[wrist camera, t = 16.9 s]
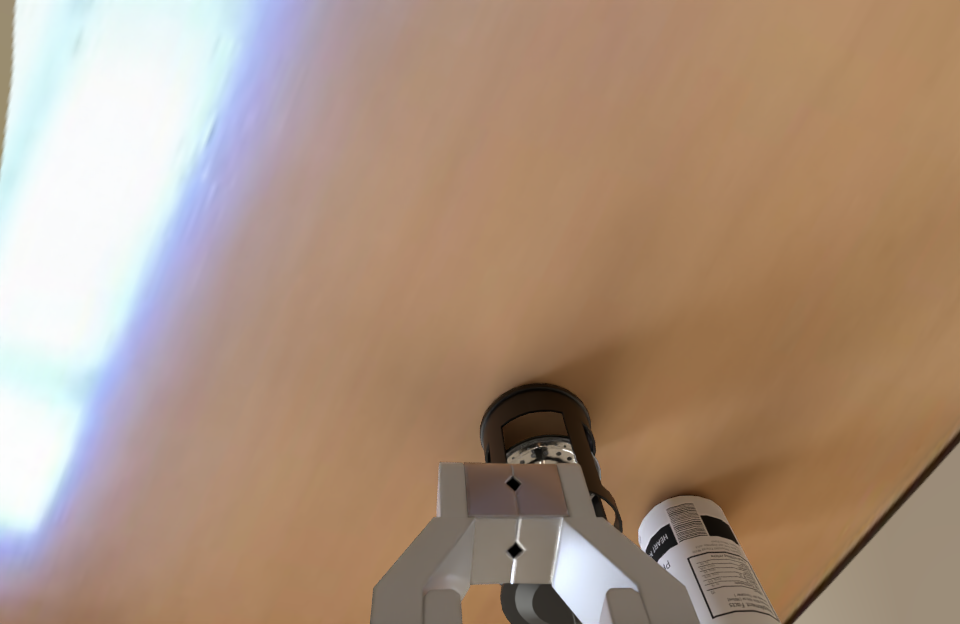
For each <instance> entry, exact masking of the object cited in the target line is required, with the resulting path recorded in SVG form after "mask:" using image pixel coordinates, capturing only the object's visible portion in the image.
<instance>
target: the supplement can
mask: <svg viewBox="0 0 960 624" xmlns="http://www.w3.org/2000/svg"><path fill="white" fill-rule="evenodd" d="M638 534H639V544H640V546H641V549H642V550H643V551H644V552H645V553H646V554H647V555H649V556H650V557H651V558H652V559H653V560H655V561H656V562H657V563H658V564H659V565H661V566H662V567H663V568H664V569H665V570H667V571H668V572H669V573H670V574H671V575H673V576H674V577H675V578H676V579H677V580H679V581H680V582H681V583H682V584H683V585H685V586H686V589H687V591H688V594H689V596H690V599H691V601H692V604H693V606H694V609H695V611H696V614H697V616H698V619H699V621H700V624H781V622H780V620H779V618H778V616H777V614H776V612H775V611H774V609H773V607H772V605H771V603H770V601H769V599H768V597H767V595H766V593H765V591H764V589H763V588H762V586H761V584H760V582H759V580H758V578H757V576H756V574H755V572H754V570H753V568H752V566H751V565H750V563H749V561H748V559H747V557H746V555H745V553H744V551H743V549H742V547H741V545H740V543H739V542H738V540H737V538H736V536H735V534H734V532H733V530H732V528H731V526H730V524H729V522H728V521H727V519H726V517H725V515H724V513H723V511H722V509H721V507H719V506H718V505H717V504H715V503H714V502H713V501H712V500H709V499H706V498H702V497H699V496H677V497H674V498H670V499H667V500H665V501H663V502H661V503H660V504H658V505H656V506H655V507H654V508H653V509H652V510H651V511H650V512H649V513H648V514H647V516H646V517H645V518H644V519H643V521H642V523H641V525H640V528H639V530H638Z"/></svg>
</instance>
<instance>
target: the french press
mask: <svg viewBox="0 0 960 624" xmlns="http://www.w3.org/2000/svg"><path fill="white" fill-rule="evenodd" d="M534 412H557V413H562V416H563V419H564V423H565V426H566V430H567V433H568V436H564V435H541V436H535V437H531V438H528V439H525V440H523V441H521V442H519V443H517V444H515V445H513V446H512V447H510V448H509V449H508V450H507V451H506V449H505V443H504V436H503V429H502V427H503V426H505V425H506V424H507V423H509V422H510V421H512V420H514V419H516V418H518V417H520V416H523V415H526V414H529V413H534ZM480 439H481V445H482V447H483V450H484V453H485V461H486V463H503V464H555V463H578V464H579V465H580V466H581V468H582V472H583V475H584V478H585V481H586V485H587V488H588V491H589V495H590V498H591V501H592V505H593V508H594V511H595V515H596V517H603V518H604V519H605V520H607V518H606V515H605V511H604V508H603V505H602V502H601V499H603V500H605V501H606V502H607V503H608V504H609V505H610V506H611V507H612V508H613V510H614V511H615V523H614V527H615V528H616V529H617V530H619V531H620V532H621V533H622V532H623V530H622V520H621V517H620V514H619V512H618V509H617V506H616V503H615V500H614V498H613V497H612V495H611V494H610V492H609V491H608V490H607V489H605V488H604V487H603V486H602V484H601V481H600V480H601V470H600V466H599V463H598V461H597V459H596V458H595V453H596V446H595V440H594V437H593V434H592V431H591V421H590V417H589V414H588V411H587V409H586V407H585V406H584V404H583V402H582V401H581V400H580V399H579V398H578V397H577V396H576V395H574V394H573V393H571V392H570V391H568V390H566V389H564V388H561V387H558V386H555V385H549V384H530V385H524V386H521V387H518V388H514V389H512V390H510V391H508V392H506V393H504V394H503V395H502V396H500V397H499V398H498V399H496V400H495V401H494V402H493V403H492V404H491V406H490V407H489V408H488V409H487V411H486V413H485V415H484V416H483V419H482V422H481V425H480ZM600 498H601V499H600ZM500 585H501V586H502V587H501V595H500V598H501V605H502V610H503V612H504V614H505V616H506V618H507V619H508V621H509V622H510V623H511V624H582V622H581V621H580V620H579V619H578V618H577V616H576V615H575V614H574V613H573V611H572V610H571V609H570V608H569V607H568V605H567V604H566V603H565V602H564V600H563V599H562V598H561V597H560V596H559V594H558V593H557V592H556V591H555V589H554V588H553V587H552V584H524V583H503V584H500Z"/></svg>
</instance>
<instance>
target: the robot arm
mask: <svg viewBox="0 0 960 624" xmlns="http://www.w3.org/2000/svg"><path fill="white" fill-rule="evenodd" d="M503 583H524V584H552V587H553V588H554V589H555V591H556V592H557V593H558V594H559V596H560V597H561V598H562V599H563V600H564V602H565V603H566V604H567V605H568V607H569V608H570V609H571V610H572V611H573V613H574V614H575V615H576V616H577V618H578V619H579V620H580V621H581V622H582V624H700V621H699V619H698V616H697V614H696V611H695V609H694V606H693V604H692V601H691V599H690V596H689V594H688V591H687V589H686V586H685V585H683V584H682V583H681V582H680V581H679V580H677V579H676V578H675V577H674V576H673V575H671V574H670V573H669V572H668V571H667V570H665V569H664V568H663V567H662V566H661V565H659V564H658V563H657V562H656V561H655V560H653V559H652V558H651V557H650V556H649V555H647V554H646V553H645V552H644V551H643V550H641V549H640V548H639V547H638V546H637V545H635V544H634V543H633V542H632V541H631V540H629V539H628V538H627V537H626V536H625V535H623V534H622V533H621V532H620V531H619V530H617V529H616V528H615V527H614V526H613V525H611V524H610V523H609V522H608V521H607V520H605V519H604V518H603V517H596V515H595V511H594V508H593V505H592V501H591V498H590V495H589V491H588V488H587V485H586V481H585V478H584V475H583V472H582V468H581V466H580V465H579V464H578V463H555V464H503V463H470V462H464V464H463V463H458V462H440V464H439V475H438V494H437V517H433V519H432V520H431V521H430V522H429V523H428V524H427V526H426V527H425V528H424V529H423V530H422V532H421V533H420V534H419V535H418V536H417V537H416V539H415V540H414V541H413V542H412V543H411V544H410V546H409V547H408V548H407V549H406V550H405V552H404V553H403V554H402V555H401V556H400V557H399V559H398V560H397V561H396V562H395V563H394V564H393V566H392V567H391V568H390V569H389V570H388V571H387V573H386V574H385V575H384V576H383V577H382V579H381V580H380V581H379V582H378V583H377V584H376V586H375V587H374V588H373V597H372V608H371V618H370V624H462V611H461V601H462V600H463V598H464V596H465V594H466V593H467V591H468V589H469V588H470V585H475V584H503Z"/></svg>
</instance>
